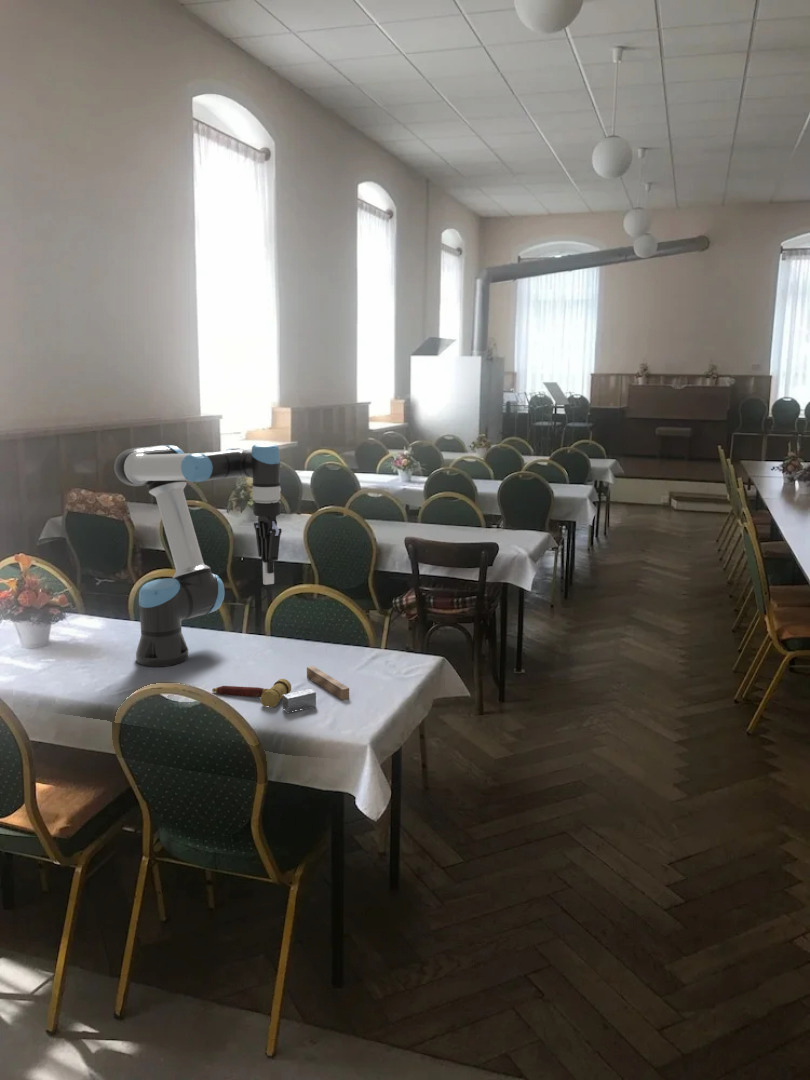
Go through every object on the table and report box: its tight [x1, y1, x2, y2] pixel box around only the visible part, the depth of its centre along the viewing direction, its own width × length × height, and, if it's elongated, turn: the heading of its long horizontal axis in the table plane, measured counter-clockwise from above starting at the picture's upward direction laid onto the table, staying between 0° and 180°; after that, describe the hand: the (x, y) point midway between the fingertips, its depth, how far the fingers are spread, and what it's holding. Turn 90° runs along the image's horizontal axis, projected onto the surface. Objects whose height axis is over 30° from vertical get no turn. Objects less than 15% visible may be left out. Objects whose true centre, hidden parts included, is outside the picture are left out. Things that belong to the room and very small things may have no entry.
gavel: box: [211, 678, 292, 708], centre depth 227 cm, size 21×5×10 cm
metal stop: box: [282, 688, 317, 713], centre depth 220 cm, size 3×8×4 cm, turn 124°
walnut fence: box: [306, 665, 350, 701], centre depth 234 cm, size 20×2×3 cm, turn 35°
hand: (268, 583), depth 240 cm, fingers closed
